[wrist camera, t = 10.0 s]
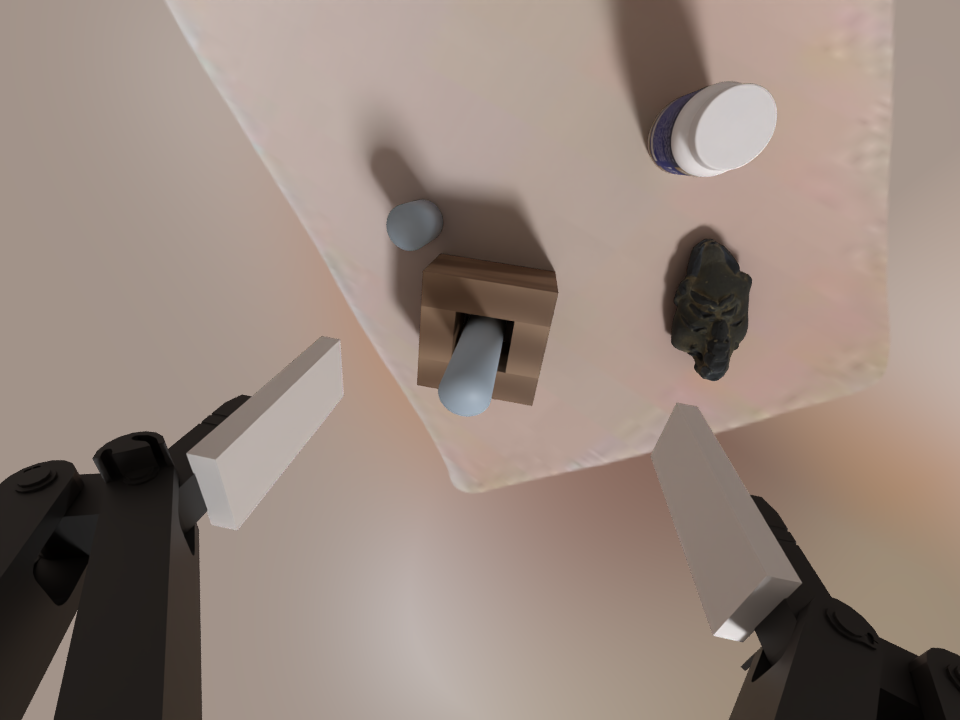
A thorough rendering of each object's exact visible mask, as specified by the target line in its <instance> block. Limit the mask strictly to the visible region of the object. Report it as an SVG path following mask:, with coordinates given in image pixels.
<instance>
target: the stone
mask: <svg viewBox="0 0 960 720" xmlns="http://www.w3.org/2000/svg"><path fill="white" fill-rule="evenodd" d="M751 285H752V278H751V277H750V276H749V275H748V274H746V273H743V272H741V271H740V267H739V264H738V263H737V262H736V260H735V259H734V257H733V256H732V255H731V254H730V252H729V251H728V250H727V249H726V248H725V247H724V246H722V245H720V244H719V243H717V242H715V241H714V240H713V239H705V240H703V241H701V242H700V243H698V244H697V245H696V246H695V247H694V248H693V250H692V253H691V256H690V260H689V264H688V269H687V276H686V277H685V280H683V281H682V282H681V283H680V285H679V287H678V290H677V291H676V295H675V298H674V303H675V305H676V306H677V310H676V314H675V316H674V319H673V325H672V335H671V343H672V345H673V346H674V347H675V348H677V349H678V350H681V351H684V352H687V353H688V354H689V355H691V356H692V357H693V358H694V360H695V365H694V369H695V370H696V372H697V373H698V374H699V375H700V376H701V377H702V378H703V379H708V380H711V381H717V380H719V379H720V378H721V377H723V376H724V374H725V373H726V371H727V370H728V368H729V361H730V357H731V355H732V353H733V351H734V350H736V349H737V348H738V347H739V343H740V342H741V341H742V340H743V339H744V337H745V335H746V333H747V329H748V304H749V292H750V288H751Z"/></svg>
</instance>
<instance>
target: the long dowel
mask: <svg viewBox="0 0 960 720" xmlns="http://www.w3.org/2000/svg"><path fill="white" fill-rule="evenodd" d="M506 323H507V320H504V319H498V318H492V317H486V316H480V315H474V314H470V317H469V319H468V321H467V323H466V326H465V328H464V330H463V333H462V335H461V337H460V339H459V342H458V344H457V346H456V348H455V351H454V353H453V355H452V357H451V360H450V362H449V364H448V366H447V369H446V371H445V373H444V375H443V378H442V380H441V382H440V384H439V388H438V394H439V398H440V400H441V402H442V404H443V405H444V406H445V407H446V408H447V409H448V410H449V411H451V412H452V413H454V414H457V415H460V416H475V415H478V414H480V413H482V412H483V411H485V410H486V409H487V408H488V406H489V404H490V402H491V398H492V393H493V388H494V383H495V378H496V373H497V368H498V363H499V358H500V353H501V348H502V343H503V338H504V333H505V328H506Z"/></svg>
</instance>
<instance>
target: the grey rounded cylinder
mask: <svg viewBox="0 0 960 720" xmlns="http://www.w3.org/2000/svg"><path fill="white" fill-rule="evenodd" d="M386 225H387V232H388V235H389V237H390V239H391V240H392V242H393V243H394V244H395V245H396V246H398V247H399V248H401V249H403V250H407V251H414V250H417V249H420V248H421V247H423V246H424V245H426V244H427V243H429V242H430V241H432V240H433V239H435V238H436V237H437V236H438V235H439V234H440V232H441V230H442V227H443V218H442V214H441V212H440V210H439V208H438V207H437V206H436V205H435V204H434V203H432V202H431V201H428V200H423V199H421V200H416V201H412V202H408V203H405V204H401V205H398V206H396V207H395V208H393V209H392V210H391V212H390V213H389V215H388V218H387V224H386Z"/></svg>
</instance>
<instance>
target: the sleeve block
mask: <svg viewBox="0 0 960 720" xmlns="http://www.w3.org/2000/svg"><path fill="white" fill-rule="evenodd" d="M557 296H558V288H557V281H556V274H555V272H553V271H547V270H541V269H534V268H528V267H522V266H515V265H509V264H503V263H496V262H490V261H484V260H477V259H471V258H465V257H458V256H452V255H446V254H440V255H439V256H438V257H437V258H436V259H435V260H434V261H433V262H432V263H431V264H430V265H429V266H428V267H427V268H426V269H425V270H424V271H423V279H422V298H421V318H420V338H419V358H418V377H417V385H420V386H426V387H431V388H437V389H438V388H439V384H440V382H441V380H442V378H443V375H444V373H445V371H446V369H447V366H448V364H449V362H450V360H451V357H452V355H453V353H454V351H455V348H456V346H457V344H458V342H459V339H460V337H461V335H462V333H463V329H464V320H465V313H468V314H474V315H480V316H486V317H492V318H498V319H504V320H510V321H514V324H513V330H512V335H511V341H510V342H504V341H503V343H502V348H501V353H500V358H499V363H498V368H497V373H496V378H495V383H494V388H493V393H492V399H498V400H503V401H509V402H514V403H520V404H525V405H531V406H532V404H533V400H534V396H535V391H536V387H537V383H538V378H539V374H540V370H541V365H542V361H543V357H544V352H545V348H546V344H547V339H548V335H549V331H550V326H551V322H552V318H553V314H554V309H555V305H556V301H557Z"/></svg>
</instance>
